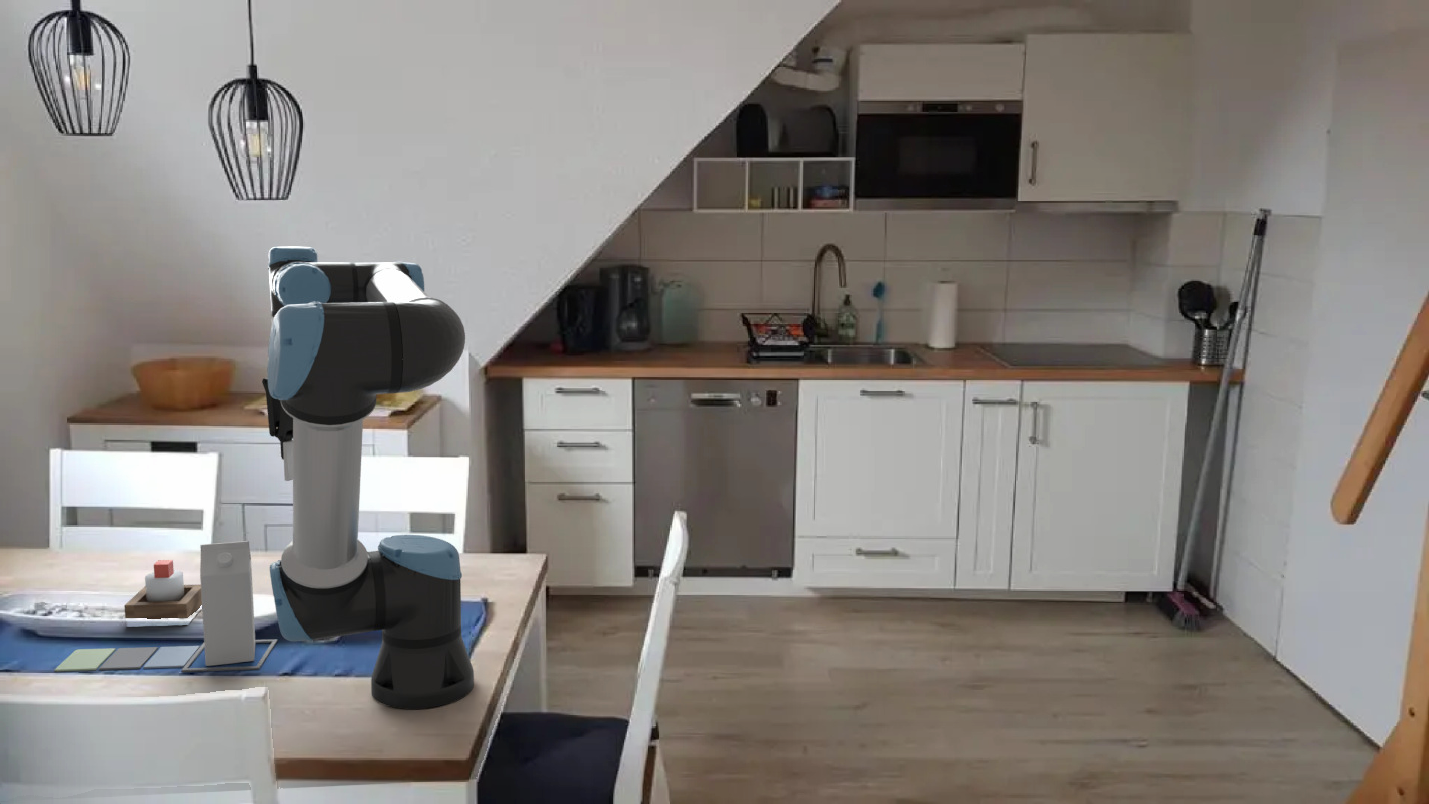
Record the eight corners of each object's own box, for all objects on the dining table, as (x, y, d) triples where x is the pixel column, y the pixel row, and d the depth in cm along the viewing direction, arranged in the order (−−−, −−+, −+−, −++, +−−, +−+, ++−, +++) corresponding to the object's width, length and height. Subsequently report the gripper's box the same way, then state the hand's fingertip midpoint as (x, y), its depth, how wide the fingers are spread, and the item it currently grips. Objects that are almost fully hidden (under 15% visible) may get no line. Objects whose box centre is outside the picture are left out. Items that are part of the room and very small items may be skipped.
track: (259, 669, 175) (259, 667, 175) (49, 676, 171) (49, 674, 171) (277, 641, 187) (277, 639, 187) (81, 646, 182) (80, 645, 182)
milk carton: (208, 650, 182) (201, 538, 179) (255, 645, 185) (249, 534, 181) (205, 667, 176) (198, 551, 172) (254, 661, 178) (248, 547, 175)
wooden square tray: (187, 625, 192) (186, 603, 192) (125, 627, 191) (124, 605, 190) (205, 605, 202) (204, 584, 201) (146, 606, 201) (145, 585, 200)
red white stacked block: (178, 603, 193) (175, 567, 192) (141, 604, 193) (138, 568, 192) (189, 591, 199) (187, 556, 198) (153, 592, 198) (151, 557, 197)
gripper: (353, 342, 183) (358, 481, 187) (273, 336, 189) (279, 470, 193) (321, 347, 176) (327, 491, 180) (239, 340, 182) (246, 479, 186)
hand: (302, 480), depth 187 cm, fingers open, 4 cm apart
